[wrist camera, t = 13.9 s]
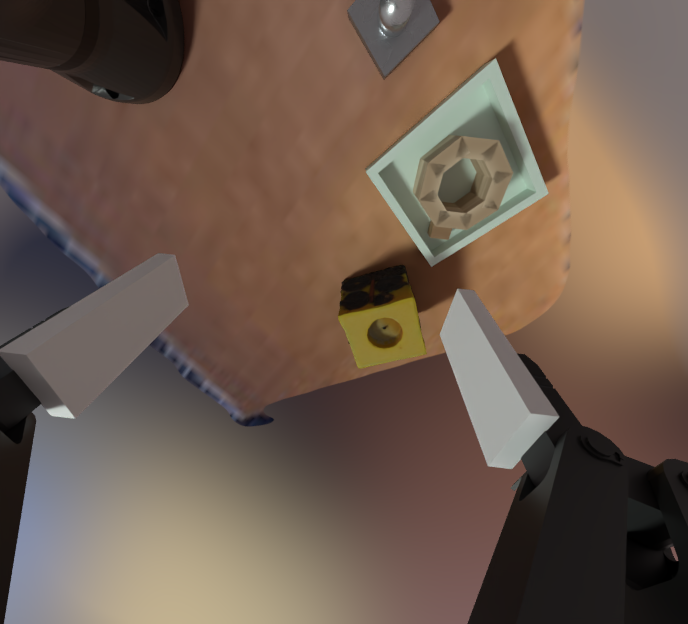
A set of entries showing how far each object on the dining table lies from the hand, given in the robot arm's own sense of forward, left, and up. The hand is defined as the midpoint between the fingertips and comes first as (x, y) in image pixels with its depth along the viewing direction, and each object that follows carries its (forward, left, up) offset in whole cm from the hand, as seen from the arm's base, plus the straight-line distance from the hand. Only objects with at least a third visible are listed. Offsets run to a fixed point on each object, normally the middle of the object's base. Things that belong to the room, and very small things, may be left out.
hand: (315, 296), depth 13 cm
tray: (+7, +11, -27) cm, 30 cm away
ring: (+8, +10, -26) cm, 29 cm away
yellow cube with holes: (+16, -6, -27) cm, 32 cm away
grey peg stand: (-9, +13, -27) cm, 31 cm away
